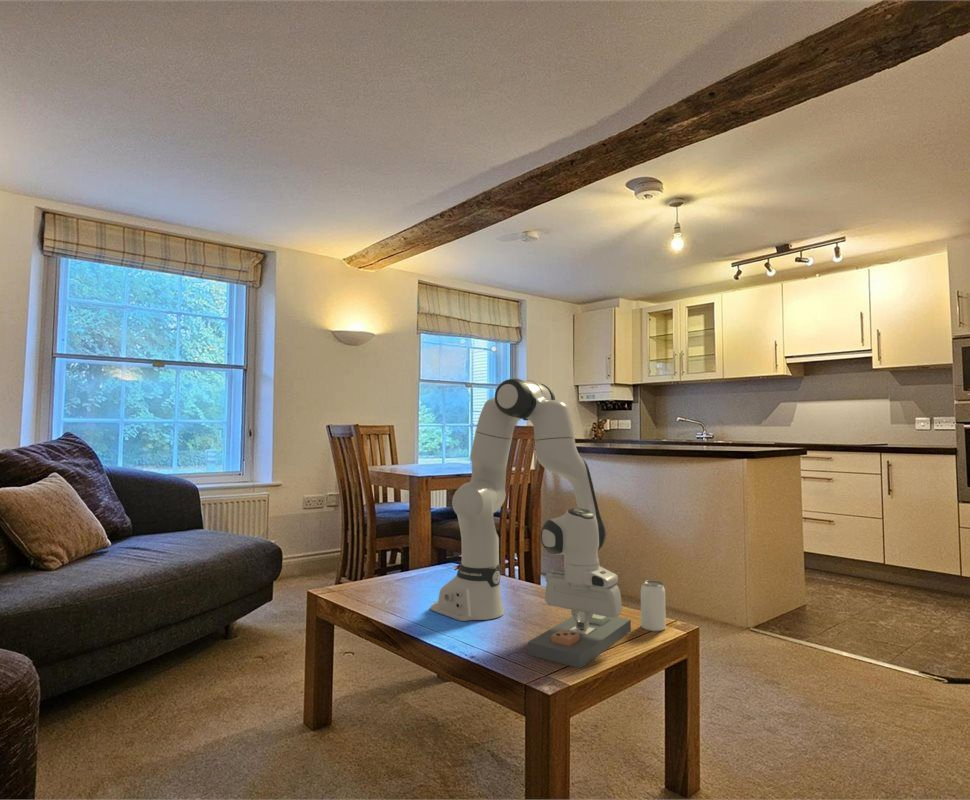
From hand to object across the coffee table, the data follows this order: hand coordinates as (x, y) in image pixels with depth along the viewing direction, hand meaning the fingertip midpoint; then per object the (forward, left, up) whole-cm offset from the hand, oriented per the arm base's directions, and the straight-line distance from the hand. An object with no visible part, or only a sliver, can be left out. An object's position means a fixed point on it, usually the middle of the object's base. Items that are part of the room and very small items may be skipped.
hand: (582, 628), depth 150 cm
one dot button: (0, 0, -3) cm, 3 cm away
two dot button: (0, +9, -2) cm, 9 cm away
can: (+11, +21, -4) cm, 24 cm away
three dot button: (0, -9, -2) cm, 9 cm away
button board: (0, 0, -3) cm, 3 cm away
